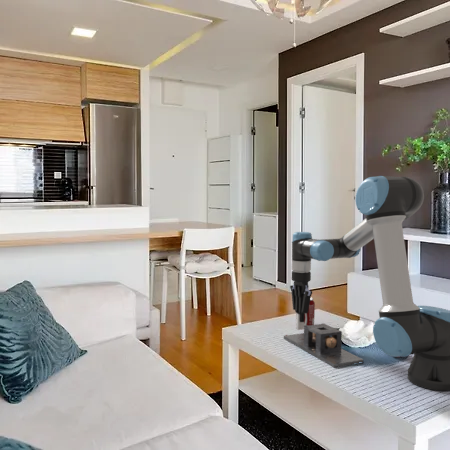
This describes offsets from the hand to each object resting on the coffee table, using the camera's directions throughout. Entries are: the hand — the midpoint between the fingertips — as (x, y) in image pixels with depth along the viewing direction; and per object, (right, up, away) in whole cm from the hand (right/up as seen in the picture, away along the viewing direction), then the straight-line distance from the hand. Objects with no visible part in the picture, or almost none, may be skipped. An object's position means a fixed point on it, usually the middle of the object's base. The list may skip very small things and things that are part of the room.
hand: (300, 329), depth 189 cm
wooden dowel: (+5, -2, -12) cm, 14 cm away
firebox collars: (+6, -5, -13) cm, 15 cm away
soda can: (+6, -3, +20) cm, 21 cm away
